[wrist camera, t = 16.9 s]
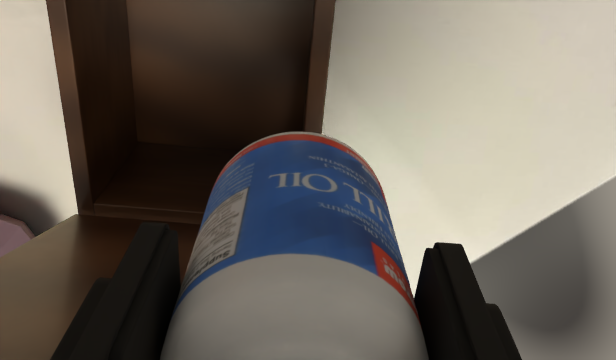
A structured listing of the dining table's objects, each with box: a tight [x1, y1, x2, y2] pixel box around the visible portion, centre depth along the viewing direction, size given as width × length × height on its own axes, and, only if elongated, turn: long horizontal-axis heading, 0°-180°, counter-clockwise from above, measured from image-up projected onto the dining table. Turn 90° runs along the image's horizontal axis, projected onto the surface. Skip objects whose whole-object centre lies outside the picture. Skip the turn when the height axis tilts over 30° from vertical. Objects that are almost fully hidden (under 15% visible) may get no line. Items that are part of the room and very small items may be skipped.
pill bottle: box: [160, 132, 429, 360], centre depth 12 cm, size 6×5×10 cm
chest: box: [46, 0, 336, 224], centre depth 29 cm, size 15×13×9 cm
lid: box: [0, 214, 201, 360], centre depth 21 cm, size 16×13×6 cm
